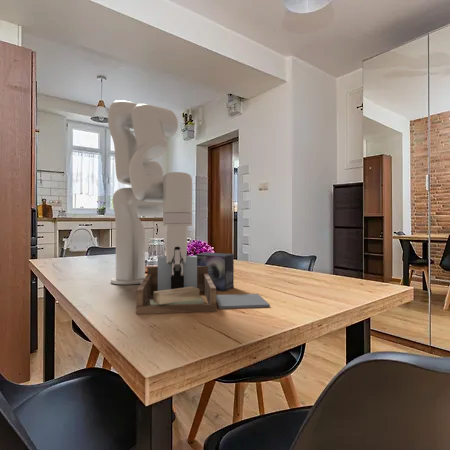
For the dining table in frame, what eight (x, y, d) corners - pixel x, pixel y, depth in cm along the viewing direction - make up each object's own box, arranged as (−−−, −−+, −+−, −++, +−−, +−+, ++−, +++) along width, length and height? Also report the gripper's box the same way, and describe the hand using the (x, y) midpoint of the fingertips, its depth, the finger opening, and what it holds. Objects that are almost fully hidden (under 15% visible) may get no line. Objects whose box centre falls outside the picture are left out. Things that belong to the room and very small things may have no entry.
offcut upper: (153, 301, 74) (153, 291, 74) (191, 295, 80) (191, 286, 80) (160, 304, 71) (160, 294, 71) (199, 298, 77) (199, 288, 77)
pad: (213, 297, 86) (213, 295, 86) (257, 296, 88) (257, 293, 88) (218, 308, 74) (218, 306, 74) (269, 307, 76) (269, 304, 76)
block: (158, 297, 86) (158, 256, 86) (196, 296, 88) (196, 255, 88) (157, 300, 83) (157, 257, 83) (197, 299, 84) (197, 257, 84)
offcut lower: (149, 310, 75) (149, 299, 75) (200, 306, 79) (200, 296, 79) (150, 314, 72) (150, 303, 72) (203, 310, 75) (203, 300, 75)
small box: (193, 288, 99) (193, 253, 99) (205, 284, 105) (205, 252, 105) (224, 291, 94) (224, 255, 94) (234, 287, 100) (234, 253, 100)
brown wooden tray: (147, 291, 94) (147, 266, 94) (207, 289, 97) (207, 266, 97) (136, 314, 70) (136, 281, 70) (216, 311, 72) (216, 279, 72)
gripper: (164, 220, 93) (164, 283, 93) (161, 219, 76) (161, 296, 76) (191, 220, 94) (190, 283, 94) (193, 219, 77) (193, 296, 77)
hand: (177, 288), depth 85 cm, fingers open, 5 cm apart
